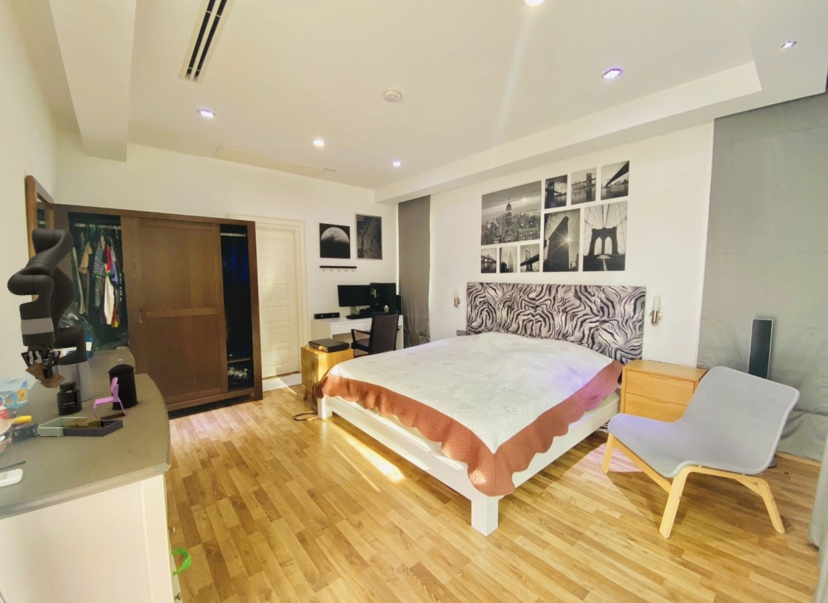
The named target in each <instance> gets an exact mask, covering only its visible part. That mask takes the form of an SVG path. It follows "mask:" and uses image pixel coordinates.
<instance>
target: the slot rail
mask: <svg viewBox="0 0 828 603" xmlns="http://www.w3.org/2000/svg"><path fill="white" fill-rule="evenodd" d="M100 422H101V428H78V427H66V426H65V427H64V428H63V427H62V428H63V435H64V436H63V437H65V436H66V437H104V436H106V435H108V434H111V433H114V432H115V431H117V430H119V429H121V428H123V427H124V424H123V420H122V419H100Z"/></svg>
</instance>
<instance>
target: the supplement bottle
mask: <svg viewBox="0 0 828 603" xmlns="http://www.w3.org/2000/svg"><path fill="white" fill-rule="evenodd" d="M58 387H59V388H58V389H59V391H57V393H56V396H55V397H56V404H57V413H58V415H59V416H69V415H72V414H76V413H79V412H81V411H82V410H83V401H82V397H81V390H80V389H79V388H76V387H77V383H76V382H67V383H63V384H60V385H59V386H58Z"/></svg>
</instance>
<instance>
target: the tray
mask: <svg viewBox="0 0 828 603" xmlns="http://www.w3.org/2000/svg"><path fill="white" fill-rule="evenodd" d="M77 418H88V416H87V417H84V416H60V417H57V418H54V419H52V420H48V421H47V422H44V423H42V424H39V425H37V426H38V428H37V433H38V434H39V435H45V436H57V437H56V438H61V436H62V437H65V436H64V435H63V427H64V426H65V427H66V423H67V422H69V421H72V420H74V419H77Z"/></svg>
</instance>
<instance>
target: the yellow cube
mask: <svg viewBox="0 0 828 603" xmlns="http://www.w3.org/2000/svg"><path fill="white" fill-rule="evenodd" d="M88 418H89V417H87V418H77V419H74V420H72V421H69V422H67V423H66V426H65V428H66V427H78V423H79V422H81V421H84V420H86V419H88Z"/></svg>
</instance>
